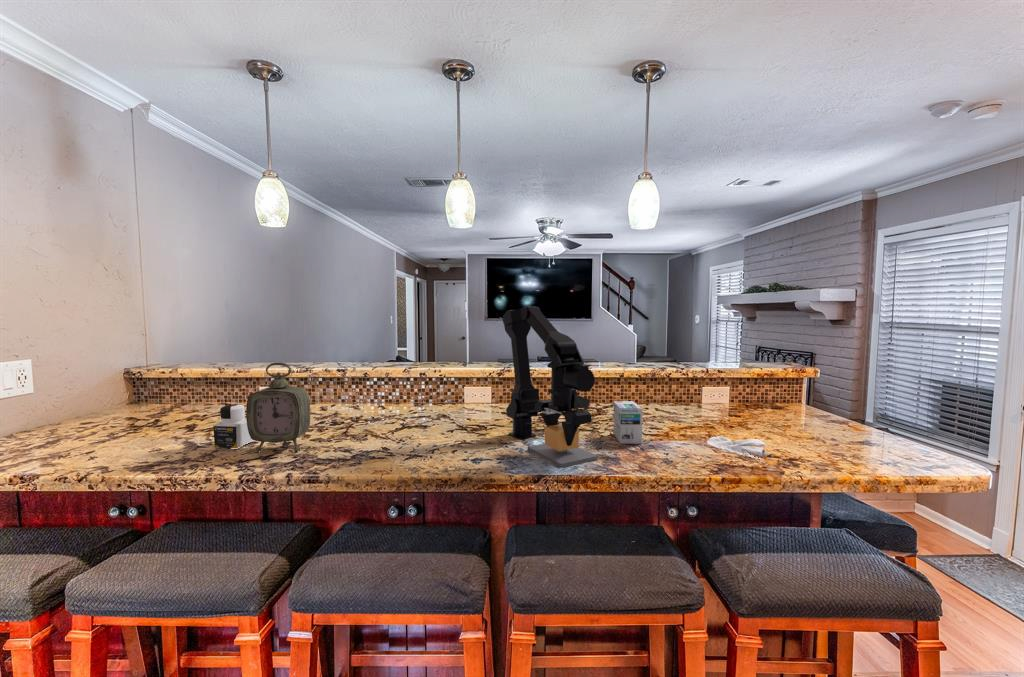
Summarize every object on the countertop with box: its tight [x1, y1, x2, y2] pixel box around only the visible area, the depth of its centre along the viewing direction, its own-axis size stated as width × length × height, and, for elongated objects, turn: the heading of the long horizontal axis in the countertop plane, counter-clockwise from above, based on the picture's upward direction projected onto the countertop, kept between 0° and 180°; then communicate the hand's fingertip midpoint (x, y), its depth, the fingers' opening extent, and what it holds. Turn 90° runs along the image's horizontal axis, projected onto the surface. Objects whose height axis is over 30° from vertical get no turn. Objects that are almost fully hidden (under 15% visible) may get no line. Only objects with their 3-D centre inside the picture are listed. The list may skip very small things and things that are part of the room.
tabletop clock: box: [245, 362, 312, 453], centre depth 129 cm, size 14×9×25 cm, turn 92°
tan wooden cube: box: [544, 423, 580, 451], centre depth 124 cm, size 7×7×5 cm
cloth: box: [706, 435, 773, 461], centre depth 130 cm, size 20×22×2 cm
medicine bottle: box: [213, 403, 254, 449], centre depth 133 cm, size 7×7×12 cm
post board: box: [527, 443, 599, 469], centre depth 124 cm, size 16×12×4 cm
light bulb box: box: [612, 400, 644, 445], centre depth 139 cm, size 11×7×11 cm, turn 179°
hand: (561, 442), depth 124 cm, fingers closed on tan wooden cube, 6 cm apart
